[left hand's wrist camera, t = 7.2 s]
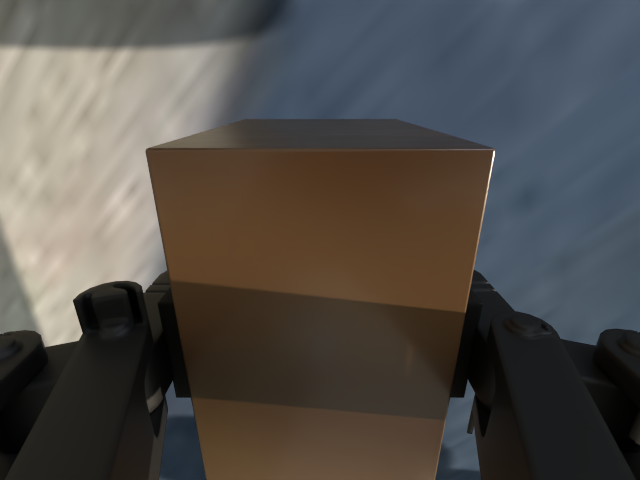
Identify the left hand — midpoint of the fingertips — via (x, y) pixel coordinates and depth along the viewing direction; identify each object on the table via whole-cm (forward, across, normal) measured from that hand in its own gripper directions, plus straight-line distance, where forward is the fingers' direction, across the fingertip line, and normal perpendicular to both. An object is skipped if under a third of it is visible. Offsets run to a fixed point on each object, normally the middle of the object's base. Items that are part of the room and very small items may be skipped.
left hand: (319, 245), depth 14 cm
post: (+1, 0, -32) cm, 32 cm away
